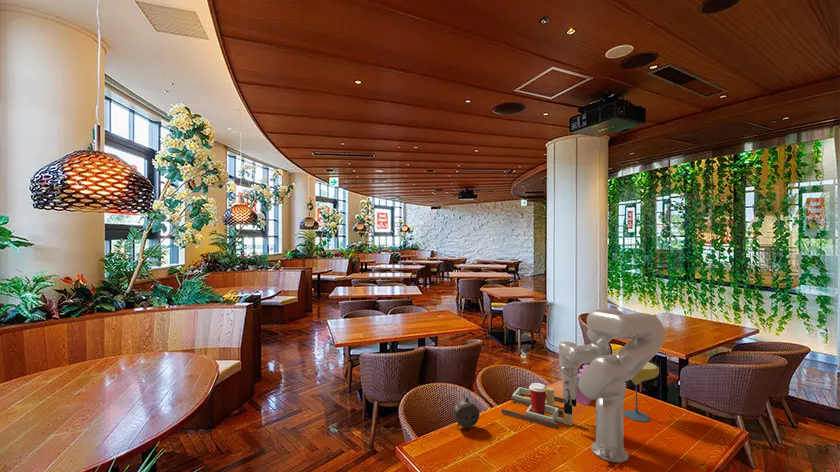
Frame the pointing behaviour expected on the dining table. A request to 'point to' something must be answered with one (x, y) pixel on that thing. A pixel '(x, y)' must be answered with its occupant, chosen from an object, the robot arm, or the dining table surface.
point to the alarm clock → (466, 413)
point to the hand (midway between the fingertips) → (570, 409)
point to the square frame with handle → (527, 391)
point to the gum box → (580, 397)
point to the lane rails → (530, 418)
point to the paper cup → (538, 398)
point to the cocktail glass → (644, 374)
